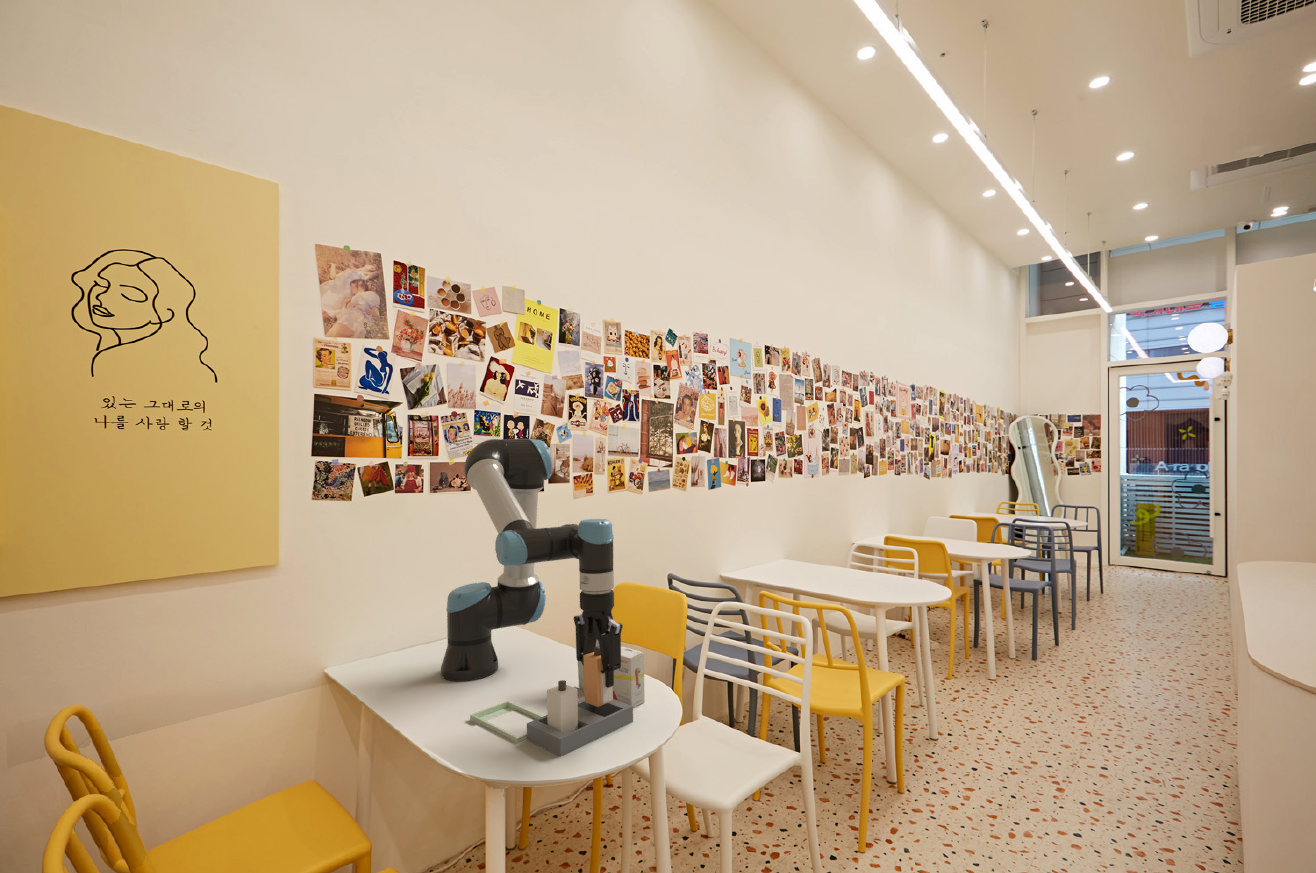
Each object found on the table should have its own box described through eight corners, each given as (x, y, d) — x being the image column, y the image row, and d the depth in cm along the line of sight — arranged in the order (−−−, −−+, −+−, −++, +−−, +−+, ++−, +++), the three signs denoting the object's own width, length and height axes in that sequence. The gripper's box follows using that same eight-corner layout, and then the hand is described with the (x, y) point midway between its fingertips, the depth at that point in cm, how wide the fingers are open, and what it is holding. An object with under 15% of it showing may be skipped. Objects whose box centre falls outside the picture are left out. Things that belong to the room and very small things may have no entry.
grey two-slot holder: (526, 743, 124) (526, 723, 124) (599, 711, 139) (598, 693, 139) (560, 760, 116) (560, 739, 117) (633, 724, 131) (632, 706, 131)
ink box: (605, 700, 145) (604, 650, 146) (620, 693, 149) (619, 645, 149) (631, 709, 140) (630, 657, 140) (645, 702, 143) (644, 652, 144)
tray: (470, 721, 135) (470, 714, 135) (508, 707, 142) (508, 700, 142) (517, 745, 123) (517, 738, 123) (556, 728, 130) (556, 721, 130)
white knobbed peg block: (547, 739, 124) (546, 682, 124) (564, 731, 127) (563, 676, 127) (561, 746, 121) (560, 687, 121) (578, 738, 124) (577, 681, 124)
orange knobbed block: (584, 701, 131) (583, 647, 132) (599, 695, 134) (598, 643, 135) (598, 707, 128) (596, 651, 129) (613, 700, 131) (611, 646, 132)
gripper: (558, 588, 135) (560, 693, 134) (611, 599, 124) (614, 714, 123) (583, 582, 141) (585, 683, 140) (637, 592, 129) (639, 702, 128)
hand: (598, 698), depth 131 cm, fingers closed on orange knobbed block, 4 cm apart
